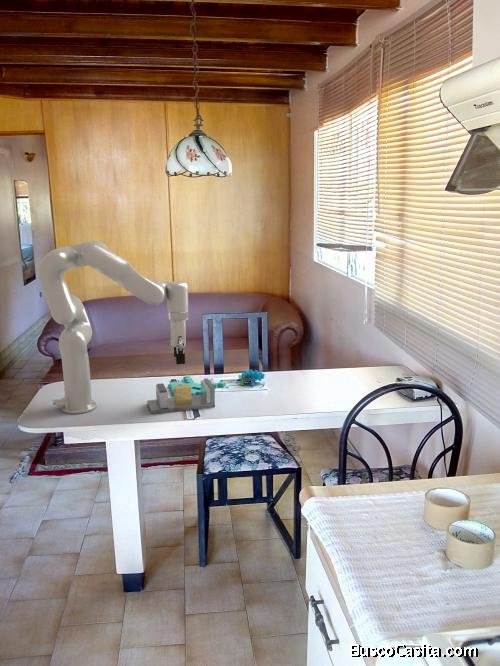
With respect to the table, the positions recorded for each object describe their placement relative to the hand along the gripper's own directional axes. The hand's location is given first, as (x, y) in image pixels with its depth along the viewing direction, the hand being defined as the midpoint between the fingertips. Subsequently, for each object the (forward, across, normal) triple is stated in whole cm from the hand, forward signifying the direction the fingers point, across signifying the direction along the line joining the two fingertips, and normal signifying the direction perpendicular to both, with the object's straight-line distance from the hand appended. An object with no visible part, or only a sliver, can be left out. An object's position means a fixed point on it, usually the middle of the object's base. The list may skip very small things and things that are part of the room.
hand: (179, 360), depth 209 cm
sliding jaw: (+16, +1, -7) cm, 18 cm away
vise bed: (+18, 0, 0) cm, 18 cm away
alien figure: (+19, -17, +6) cm, 26 cm away
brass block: (+17, 0, +1) cm, 17 cm away
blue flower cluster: (+18, -19, +32) cm, 41 cm away
